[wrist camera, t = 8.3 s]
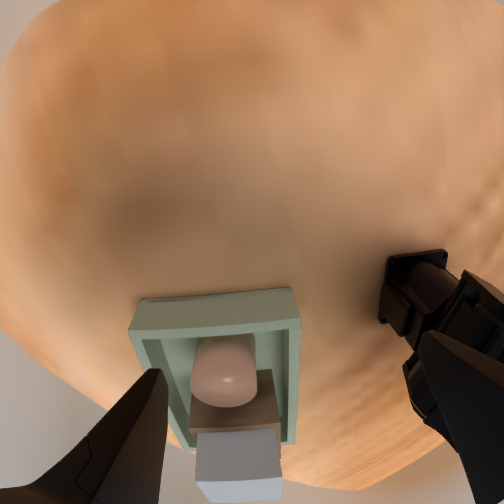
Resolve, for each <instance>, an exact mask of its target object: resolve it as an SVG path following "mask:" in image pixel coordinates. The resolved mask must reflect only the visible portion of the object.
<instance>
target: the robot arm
mask: <svg viewBox="0 0 504 504" xmlns="http://www.w3.org/2000/svg"><path fill="white" fill-rule="evenodd" d="M442 255H443V256H442ZM447 258H448V253H447V252H446V251H445V250H435V251H427V252H419V253H411V254H403V255H395V256H391V257H389V258H388V260H387V264H386V272H385V279H384V283H383V285H382V291H381V297H380V303H379V315H378V321H379V322H380V324H387V323H390V325H391V326H392V328H393V329H394V330H395V332H396V333H397V335H398V336H399V337H403V336H404V338H405V339H406V341H407V342H408V343H409V345H410V346H411V348H412V349H413V351H414V353H413V354H412V355H411V357H410V358H409V359H408V360H406V362H405V363H404V364H403V365H402V368H403V372H404V376H405V380H406V384H407V388H408V393H409V397H410V401H411V404H412V407H413V410H414V411H415V412H416V413H417V414H418V415H419V416H420V417H421V418H422V419H423V422H424V423H425V424H426V425H428V426H430V427H431V428H433V429H435V430H436V431H437V432H438V433H440V434H441V435H442V436H443V437H444V438H445V439H446V440H447V441H448V442H449V443H450V445H451V446H452V447H453V448H454V450H455V451H456V452H457V453H459V456H460V458H461V461H462V464H463V466H464V469H465V472H466V475H467V478H468V481H469V484H470V487H471V490H472V493H473V497H474V500H475V503H476V504H498V503H499V502H501V501H502V500H503V499H504V294H503V293H502V292H501V291H500V290H498V289H497V288H496V287H494V286H493V285H492V284H490V283H488V282H486V281H485V280H483V279H481V278H479V277H478V276H476V275H474V274H472V273H470V272H469V271H467V270H465V269H464V271H463V273H462V275H461V279H460V280H458V279H457V278H456V277H455V276H454V275H452V274H451V273H450V272H449V271H447V270H446V269H445V268H446V263H447ZM393 261H394V263H393V264H392V262H393ZM383 318H384V319H383ZM168 396H169V388H168V384H167V381H166V379H165V376H164V374H163V371H162V370H161V369H160V368H149V369H147V370H146V372H145V373H144V374H143V375H142V376H141V377H140V378H139V379H138V380H137V381H136V382H135V383H134V384H133V386H132V387H131V388H130V389H129V390H128V391H127V392H126V393H125V394H124V395H123V396H122V397H121V398H120V399H119V401H118V402H117V403H116V404H115V405H114V406H113V407H112V408H111V409H110V410H109V411H108V412H107V413H106V415H105V416H104V417H103V418H102V419H101V420H100V421H99V422H98V423H97V424H96V425H95V426H94V427H93V428H92V430H90V432H89V433H88V434H87V436H85V437H84V438H83V439H82V440H81V441H80V442H79V443H78V444H77V445H76V446H75V447H74V448H73V449H72V450H71V451H70V452H69V453H68V454H67V455H66V456H65V457H64V458H62V459H61V460H60V461H59V462H58V463H57V464H55V465H54V466H53V467H52V468H51V469H49V470H48V471H47V472H46V473H44V474H43V475H42V476H41V477H40V478H38V479H37V480H36V481H34V482H32V483H30V484H28V485H25V486H21V487H12V488H2V489H0V504H158V501H159V491H160V483H161V474H162V466H163V459H164V451H165V444H166V437H167V428H168Z"/></svg>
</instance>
